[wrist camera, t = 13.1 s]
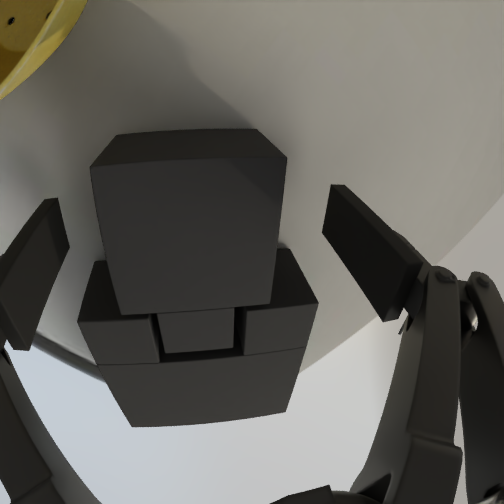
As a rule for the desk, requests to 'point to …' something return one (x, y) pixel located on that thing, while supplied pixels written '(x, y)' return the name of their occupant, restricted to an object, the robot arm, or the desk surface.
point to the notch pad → (201, 355)
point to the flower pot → (32, 35)
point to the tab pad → (190, 227)
